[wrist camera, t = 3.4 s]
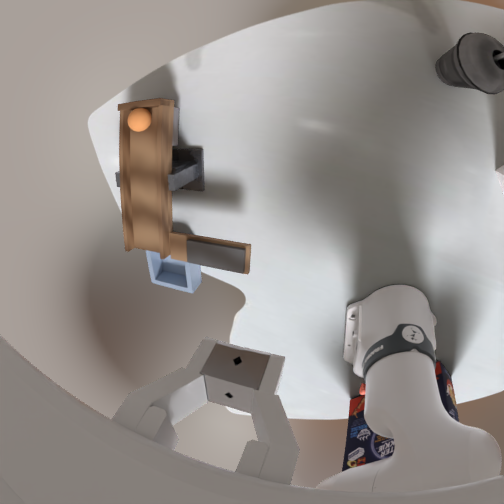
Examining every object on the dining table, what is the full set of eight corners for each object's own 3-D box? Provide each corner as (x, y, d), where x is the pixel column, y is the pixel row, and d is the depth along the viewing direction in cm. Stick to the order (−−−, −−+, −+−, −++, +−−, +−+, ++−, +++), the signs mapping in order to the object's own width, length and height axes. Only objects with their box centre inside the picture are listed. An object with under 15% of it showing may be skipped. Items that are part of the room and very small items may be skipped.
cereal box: (367, 413, 64) (356, 516, 38) (346, 398, 62) (330, 513, 36) (453, 376, 50) (466, 493, 24) (440, 356, 48) (455, 490, 22)
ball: (152, 134, 36) (138, 125, 33) (133, 135, 37) (119, 127, 34) (159, 112, 36) (146, 102, 33) (140, 114, 37) (127, 105, 33)
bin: (201, 281, 56) (192, 293, 53) (161, 272, 59) (151, 282, 55) (198, 239, 52) (188, 249, 48) (155, 232, 54) (144, 241, 50)
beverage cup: (418, 71, 27) (481, 48, 11) (439, 38, 23) (504, 2, 7) (456, 104, 27) (536, 114, 11) (476, 72, 23) (557, 64, 7)
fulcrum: (204, 189, 46) (180, 206, 40) (143, 185, 49) (115, 199, 43) (203, 149, 43) (177, 159, 36) (139, 149, 46) (110, 159, 39)
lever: (254, 264, 44) (242, 282, 39) (144, 243, 49) (123, 256, 44) (266, 100, 35) (253, 93, 29) (141, 105, 39) (118, 104, 34)
